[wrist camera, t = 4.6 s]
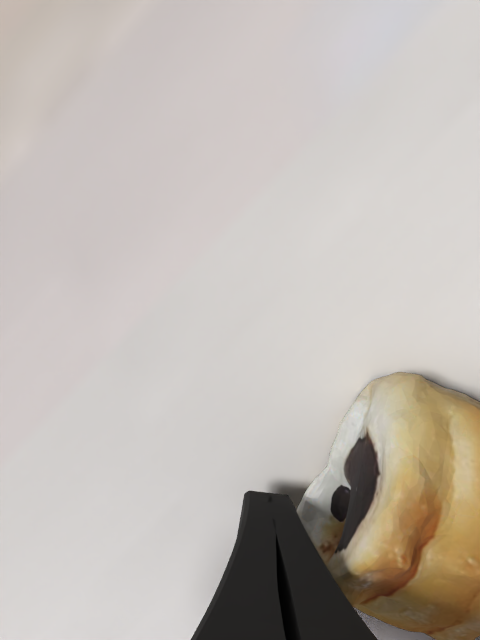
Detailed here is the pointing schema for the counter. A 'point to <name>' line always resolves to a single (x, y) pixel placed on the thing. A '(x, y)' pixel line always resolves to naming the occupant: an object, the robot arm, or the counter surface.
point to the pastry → (404, 507)
